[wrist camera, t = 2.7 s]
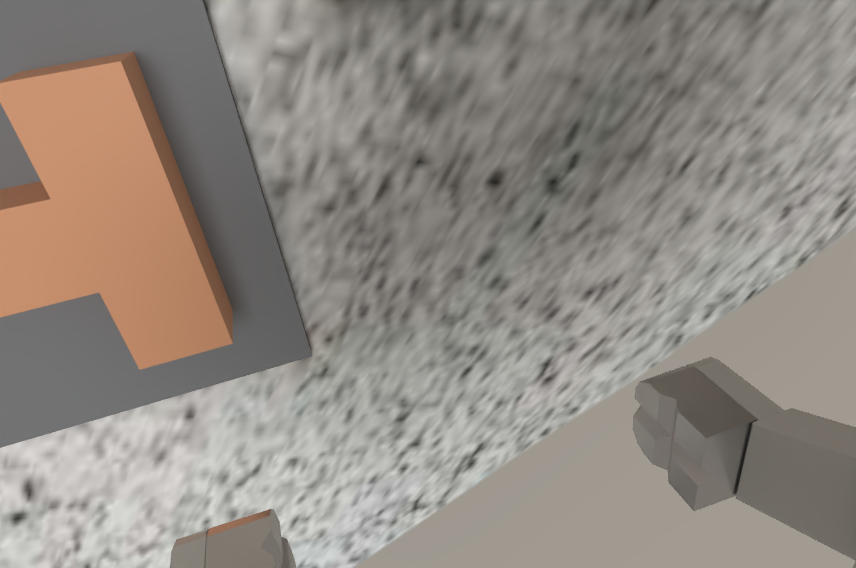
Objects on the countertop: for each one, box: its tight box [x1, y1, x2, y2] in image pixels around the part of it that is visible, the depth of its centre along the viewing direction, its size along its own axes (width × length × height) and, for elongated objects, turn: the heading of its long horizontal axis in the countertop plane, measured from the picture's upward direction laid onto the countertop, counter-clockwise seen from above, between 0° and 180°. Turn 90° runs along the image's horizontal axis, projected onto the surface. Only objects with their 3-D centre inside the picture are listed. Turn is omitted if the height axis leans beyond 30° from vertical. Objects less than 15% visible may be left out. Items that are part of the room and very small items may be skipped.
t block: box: [0, 51, 233, 370], centre depth 22 cm, size 10×12×3 cm
